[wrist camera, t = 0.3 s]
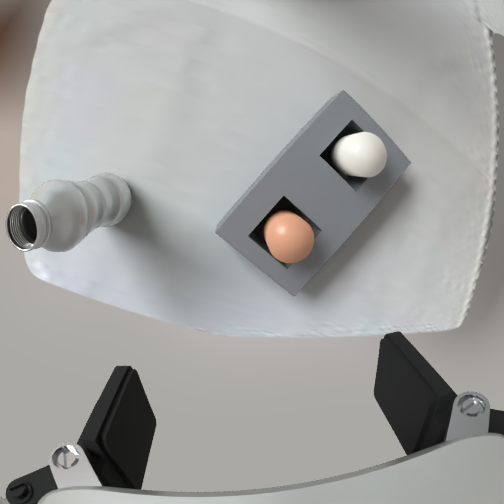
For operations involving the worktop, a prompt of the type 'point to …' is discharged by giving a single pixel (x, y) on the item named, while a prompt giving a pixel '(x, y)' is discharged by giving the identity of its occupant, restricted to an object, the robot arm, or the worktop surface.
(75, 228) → the plastic bottle
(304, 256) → the terracotta button
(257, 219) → the grey two-hole block
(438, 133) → the worktop surface
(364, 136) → the ivory button
